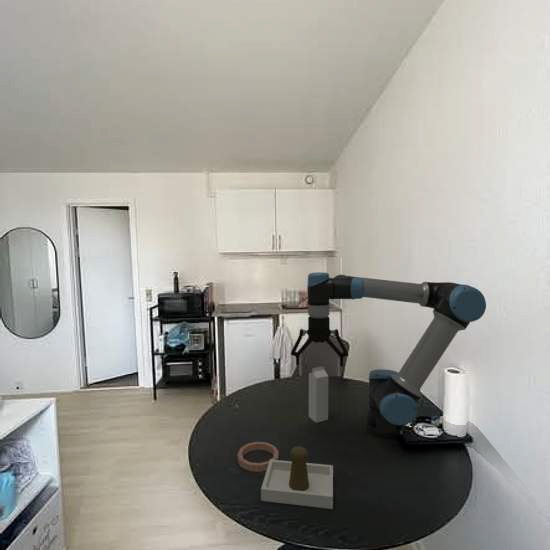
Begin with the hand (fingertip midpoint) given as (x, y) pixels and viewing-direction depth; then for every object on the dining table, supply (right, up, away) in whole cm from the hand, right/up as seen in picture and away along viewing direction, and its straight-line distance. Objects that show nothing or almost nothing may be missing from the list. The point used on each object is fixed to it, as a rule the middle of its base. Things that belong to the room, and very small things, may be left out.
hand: (319, 374), depth 123 cm
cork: (-9, -27, -21) cm, 35 cm away
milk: (+2, -25, +22) cm, 33 cm away
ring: (-22, -27, -6) cm, 35 cm away
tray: (-9, -28, -21) cm, 36 cm away
